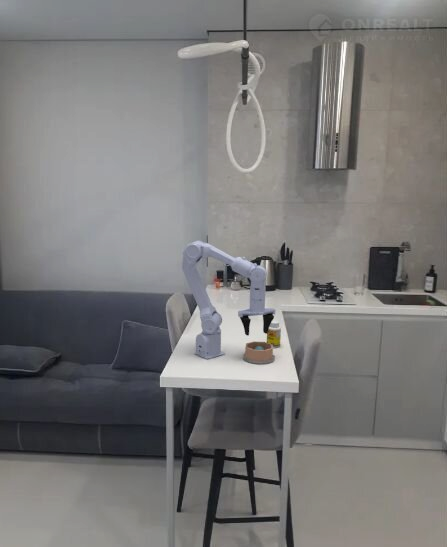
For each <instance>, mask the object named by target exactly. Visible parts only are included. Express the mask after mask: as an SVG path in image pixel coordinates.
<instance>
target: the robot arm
mask: <svg viewBox="0 0 447 547" xmlns="http://www.w3.org/2000/svg"><path fill="white" fill-rule="evenodd" d="M202 258H203V259H205V258H213V259H215V260H217V261H219V262H221V263H224V264H227V265H228V266H230V267H231V270H232V271H233V272H235V273H237V274H239V275H241V276H243V277H245V278H247V279H249V280H250V286H249V288H250V289H249V307H248V308H249V309H243V310H238V311H237V316H238V317H239V320H240V321H241V323H242V326H243V329H244V335H245V336H247V337H248V336H249V335H250V325H251V321H252V319H251V318H250V317H252V316H253V317H254V316H262V321H263V328H262V330H263V331H262V332H263V333H264V334H265V335H267V333H268V329H269V326H270V324H271V322H272V321H274V318H275V315H276V309H275V308H267V307H266V278H267V275H268V274H267V270H266V268H265V267H264V266H262V265H260V264H259V265H258V264H257V262H254V263H253V262H252V261H249V260H247V259H246V257H245V256H242V257H240V256H237V257H234V256H232V255H230V254H228V253H226V252H224V251H223V250H221V249H219V248H217V247H215V246H214V245H212V244H210V243H208V242H204V241H202V240H199V239H198V240H195V241H193V242H189V243H188V244H187V245H186V246H185V248H184V249H183V251H182V263H181V269H182V272H183V274H184V276H185V279H186V281H187V284H188V286H189V288H190V290H191V293H192V295H193V298H194V300H195V302H196V306H197V307H198V309H199V318H200V321H201V330H202V332H200V333H199V334H197V335H196V337H195V351H194V354H195V355H198V356H199V357H202V358H203V359H205V360H209V359H213V358H216V357H219V356H224V355H226V352H225V351H222V349H221V348H222V346H221V345H222V329H221V328H220V326H221V325H222V323H223V317H222V315H221V314H220V313H219V312H218V311H217V309H216V307H215V306H214V305H213V303H212V301H211V299H210V297H209V295H208V292H207V289H206V287H205V285H204V283H203V280H202V278H201V276H200V273H199V271H198V268H197V267H198V265H199V263H200V260H201V259H202Z"/></svg>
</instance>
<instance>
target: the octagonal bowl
mask: <svg viewBox="0 0 447 547" xmlns="http://www.w3.org/2000/svg"><path fill="white" fill-rule="evenodd" d="M257 346H261V347H262V348H263V349H264V350H254V349H255V347H257ZM244 348H245V351H244V352H245V353H244V354H243V355H242V360H243V361H245V363H249V364H253V365H268V364H271V363H274V362H275V360H276V356H275V355H274V351H273V350H274V348H273V345H272V344H269V343H267V341H255V340H253V341H251V342H246V343H245V347H244Z"/></svg>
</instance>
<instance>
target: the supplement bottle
mask: <svg viewBox="0 0 447 547" xmlns="http://www.w3.org/2000/svg"><path fill="white" fill-rule="evenodd" d="M281 328H282V327H281V325H280V321H278V320H272V322H271V324H270V326H269V329H268V333H267V334H266V342H267V343H269V344H272V345H273V349H274V348H275V349H276V348H279V347H280V345H281V336H282V335H281V334H282V333H281V332H282V329H281Z"/></svg>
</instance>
